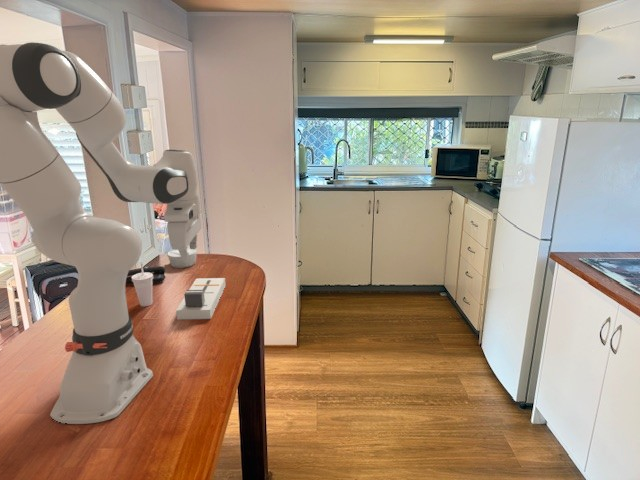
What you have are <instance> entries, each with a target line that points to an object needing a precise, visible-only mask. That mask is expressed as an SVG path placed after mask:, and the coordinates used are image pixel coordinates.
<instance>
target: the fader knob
mask: <svg viewBox="0 0 640 480" xmlns="http://www.w3.org/2000/svg"><path fill="white" fill-rule="evenodd" d="M184 297H185V304H186V307H191V306H203V305H204V303H205V298H204V290H189V289H187V290H186V291H185V292H184Z"/></svg>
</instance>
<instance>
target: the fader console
mask: <svg viewBox="0 0 640 480" xmlns="http://www.w3.org/2000/svg"><path fill="white" fill-rule="evenodd" d="M224 288H225V289H226V278H225V277H217V278H216V277H211V278H209V277H207V278H205V277H204V278H201V277H199V278H195V280H194V281H193V283H192V284H191V286H190V287H189V289H188V290H204V298H205V303H204V305H203V306H191V307H186V304H185V296H184V297H183V299H182V300H181V302H180V303H179V305H178V307H177V308H176V309H175V313H176V314H175V315H176V320H211V319H212V317H213V316H214V313H215V310H216V309H215V308H217V306H218V304H219V302H220V300H221V298H222V295H223V293H224V291H225V289H224ZM223 290H224V291H223ZM220 297H221V298H220ZM219 299H220V300H219Z"/></svg>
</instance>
